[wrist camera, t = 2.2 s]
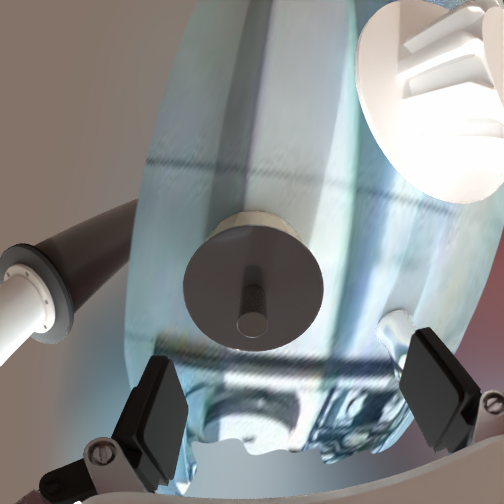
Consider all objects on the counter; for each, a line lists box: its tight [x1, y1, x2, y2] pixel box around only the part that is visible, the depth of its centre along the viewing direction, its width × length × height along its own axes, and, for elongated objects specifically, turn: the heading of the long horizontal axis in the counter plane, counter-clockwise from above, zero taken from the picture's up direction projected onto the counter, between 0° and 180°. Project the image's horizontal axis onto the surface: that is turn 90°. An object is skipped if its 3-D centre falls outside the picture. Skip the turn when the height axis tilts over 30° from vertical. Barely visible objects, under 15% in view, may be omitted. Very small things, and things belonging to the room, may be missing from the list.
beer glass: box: [376, 310, 418, 383], centre depth 31 cm, size 7×7×15 cm
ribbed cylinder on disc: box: [354, 0, 504, 204], centre depth 19 cm, size 25×25×19 cm
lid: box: [183, 224, 324, 352], centre depth 25 cm, size 13×13×6 cm
